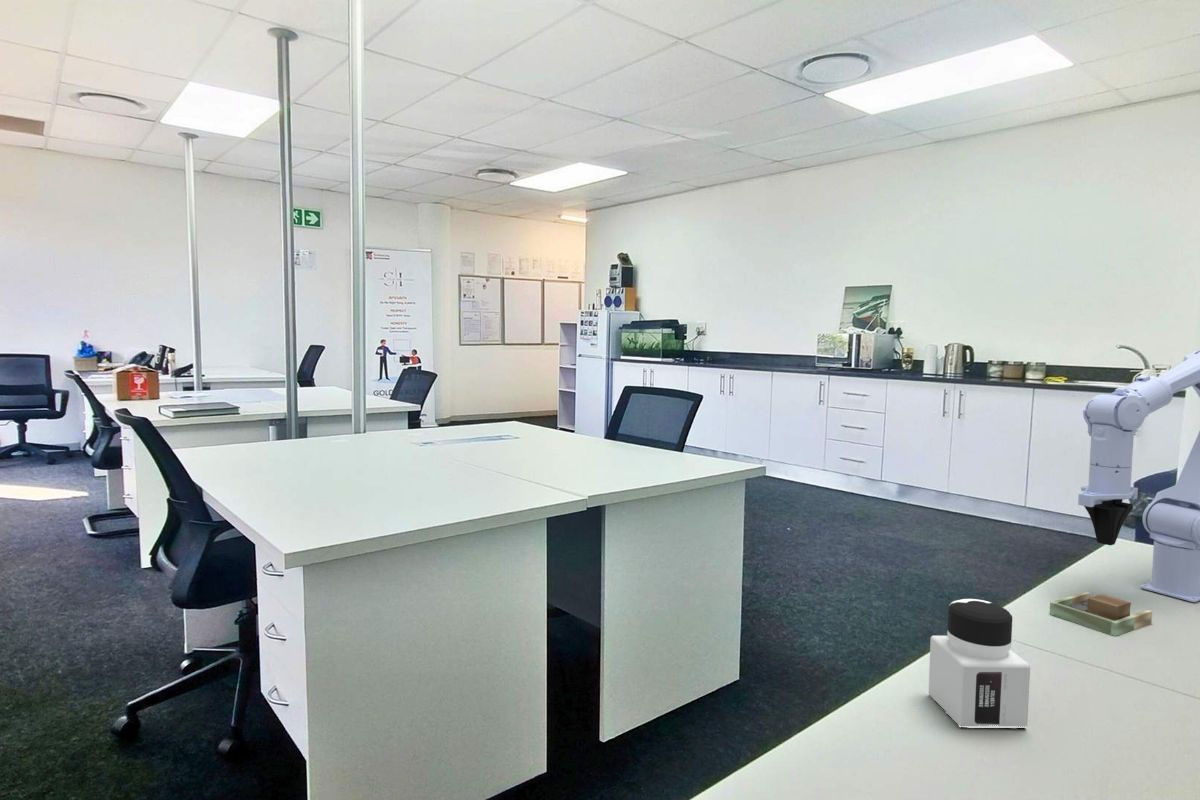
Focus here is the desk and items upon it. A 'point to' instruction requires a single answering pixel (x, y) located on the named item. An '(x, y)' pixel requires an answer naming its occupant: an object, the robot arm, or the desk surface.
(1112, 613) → the block
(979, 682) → the container
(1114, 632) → the green beige u-shaped frame
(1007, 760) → the desk surface
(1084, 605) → the tiles
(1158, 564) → the robot arm
